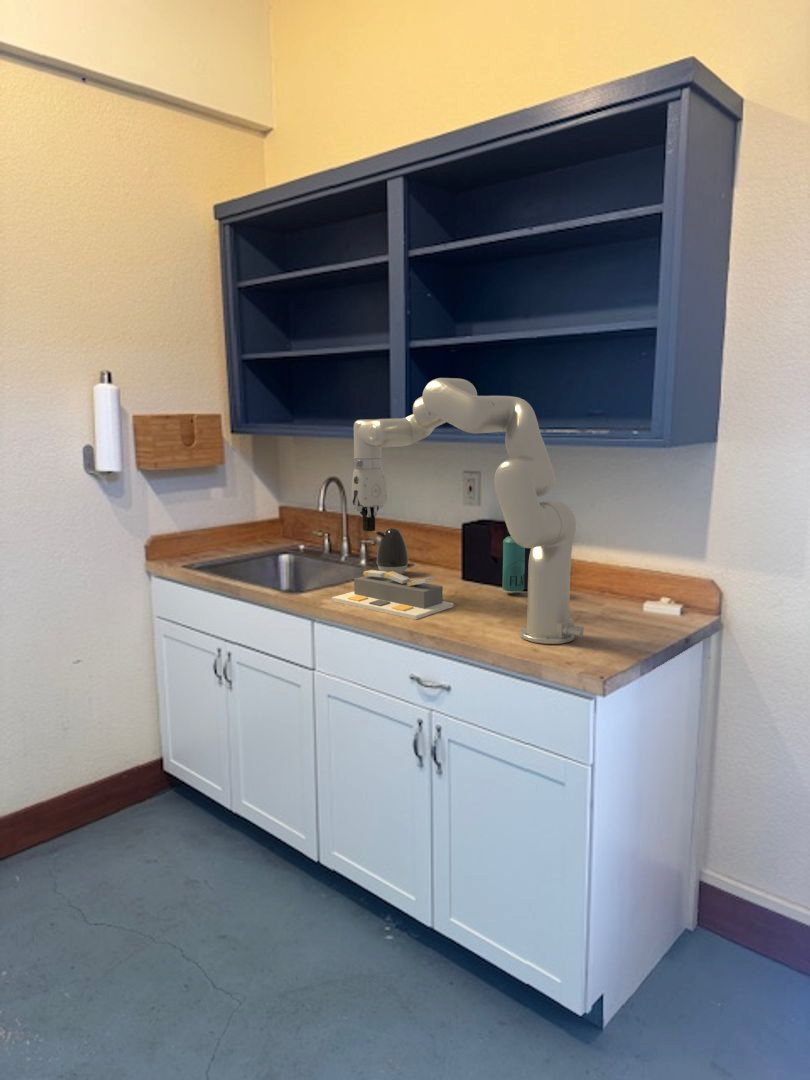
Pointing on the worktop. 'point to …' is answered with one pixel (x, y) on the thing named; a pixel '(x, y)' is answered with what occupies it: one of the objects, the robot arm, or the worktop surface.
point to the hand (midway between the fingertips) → (369, 530)
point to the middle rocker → (397, 577)
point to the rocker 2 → (420, 581)
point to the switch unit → (395, 597)
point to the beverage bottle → (513, 565)
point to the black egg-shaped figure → (392, 552)
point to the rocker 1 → (374, 573)
